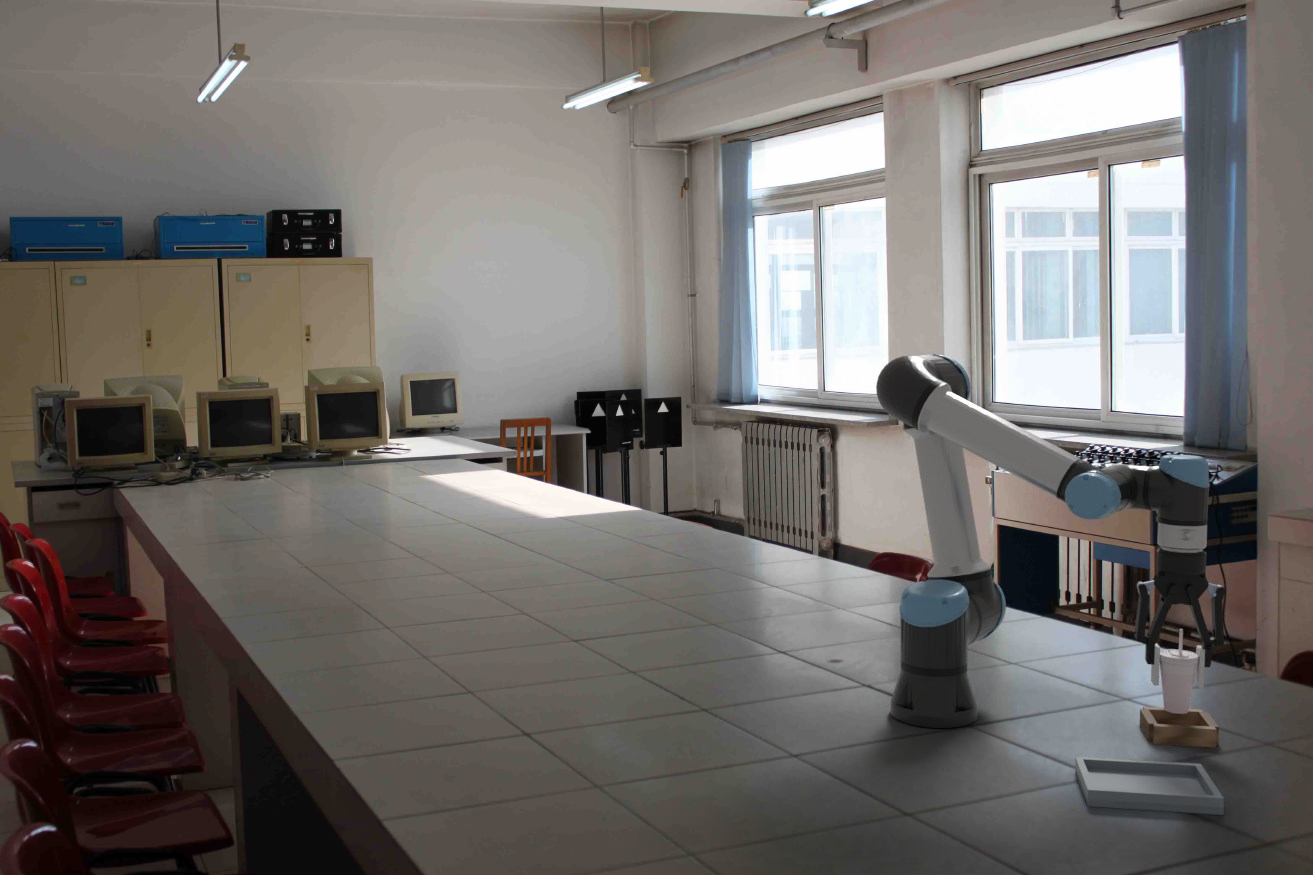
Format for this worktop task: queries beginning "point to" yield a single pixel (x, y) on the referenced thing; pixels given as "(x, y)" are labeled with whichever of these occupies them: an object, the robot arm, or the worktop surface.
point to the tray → (1148, 785)
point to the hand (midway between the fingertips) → (1177, 684)
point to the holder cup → (1179, 727)
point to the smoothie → (1177, 677)
